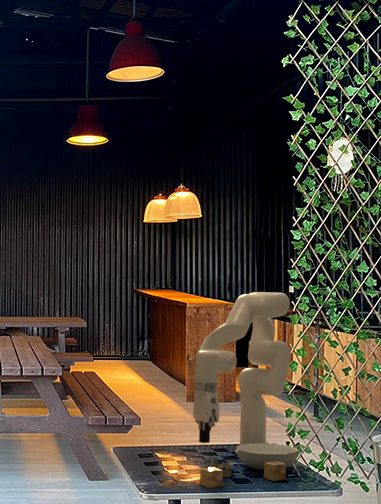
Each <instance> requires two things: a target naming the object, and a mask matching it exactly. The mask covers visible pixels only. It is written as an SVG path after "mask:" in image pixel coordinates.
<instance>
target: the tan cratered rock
mask: <svg viewBox="0 0 381 504" xmlns="http://www.w3.org/2000/svg"><path fill="white" fill-rule="evenodd" d="M233 466H234V461H232V462H229V461H227V462H224V461H222V462H221V463H220V464H219V461H218V460H216V459H215V460H214V458H212V457H211V459H210V462H209V468H210V467H215V468H218V469H221V470H223V477H225V478H228V477H229V478H230V477H232V468H233Z"/></svg>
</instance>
